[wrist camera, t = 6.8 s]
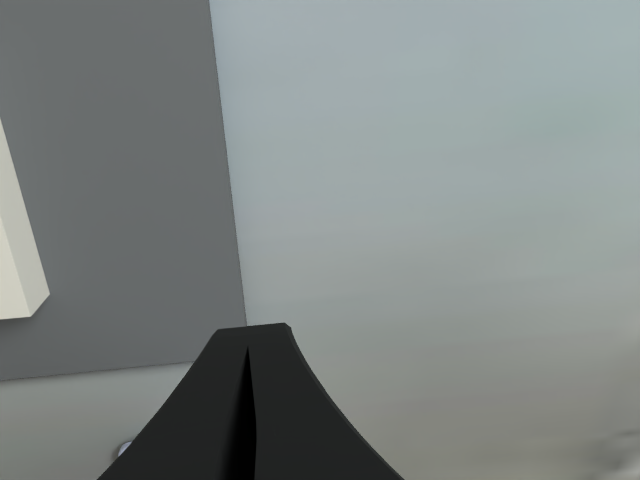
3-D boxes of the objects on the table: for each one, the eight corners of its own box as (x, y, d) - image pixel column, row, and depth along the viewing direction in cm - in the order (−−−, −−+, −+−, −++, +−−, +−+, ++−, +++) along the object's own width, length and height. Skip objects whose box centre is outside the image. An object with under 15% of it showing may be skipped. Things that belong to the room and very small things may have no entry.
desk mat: (249, 347, 21) (249, 355, 20) (-112, 382, 19) (-123, 392, 19) (195, -117, 14) (192, -122, 14) (-333, -104, 13) (-359, -110, 13)
